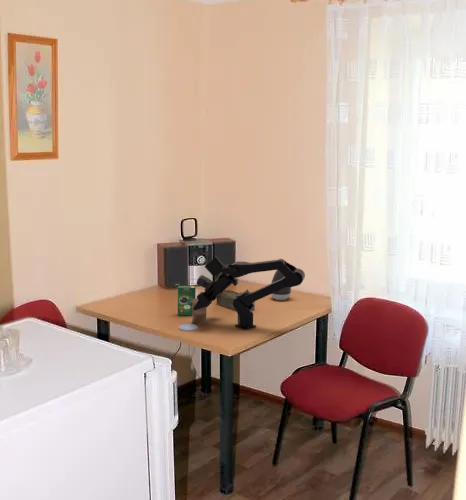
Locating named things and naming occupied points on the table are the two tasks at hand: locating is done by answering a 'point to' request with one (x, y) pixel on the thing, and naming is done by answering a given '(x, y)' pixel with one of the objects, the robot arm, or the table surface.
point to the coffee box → (185, 299)
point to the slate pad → (188, 327)
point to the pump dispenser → (282, 293)
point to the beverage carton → (228, 299)
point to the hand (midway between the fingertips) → (196, 307)
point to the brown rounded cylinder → (198, 314)
